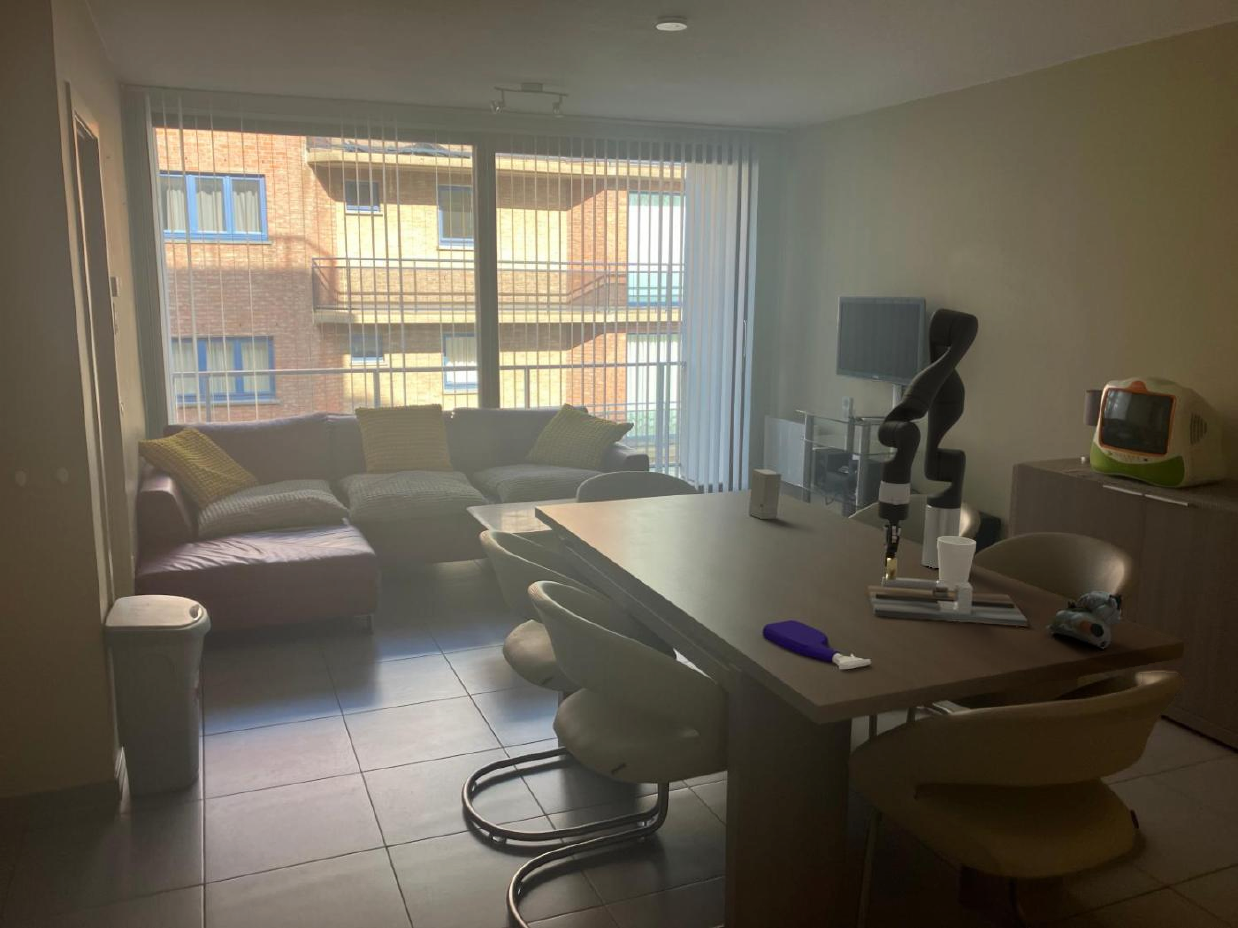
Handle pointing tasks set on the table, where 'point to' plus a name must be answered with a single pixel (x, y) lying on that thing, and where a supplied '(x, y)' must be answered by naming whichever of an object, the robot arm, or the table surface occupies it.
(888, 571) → the swing bar
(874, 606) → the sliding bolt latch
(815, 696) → the table surface
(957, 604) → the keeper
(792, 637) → the spray bottle
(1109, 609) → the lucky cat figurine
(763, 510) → the skincare box
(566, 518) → the table surface
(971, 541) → the foam cup
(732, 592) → the table surface
